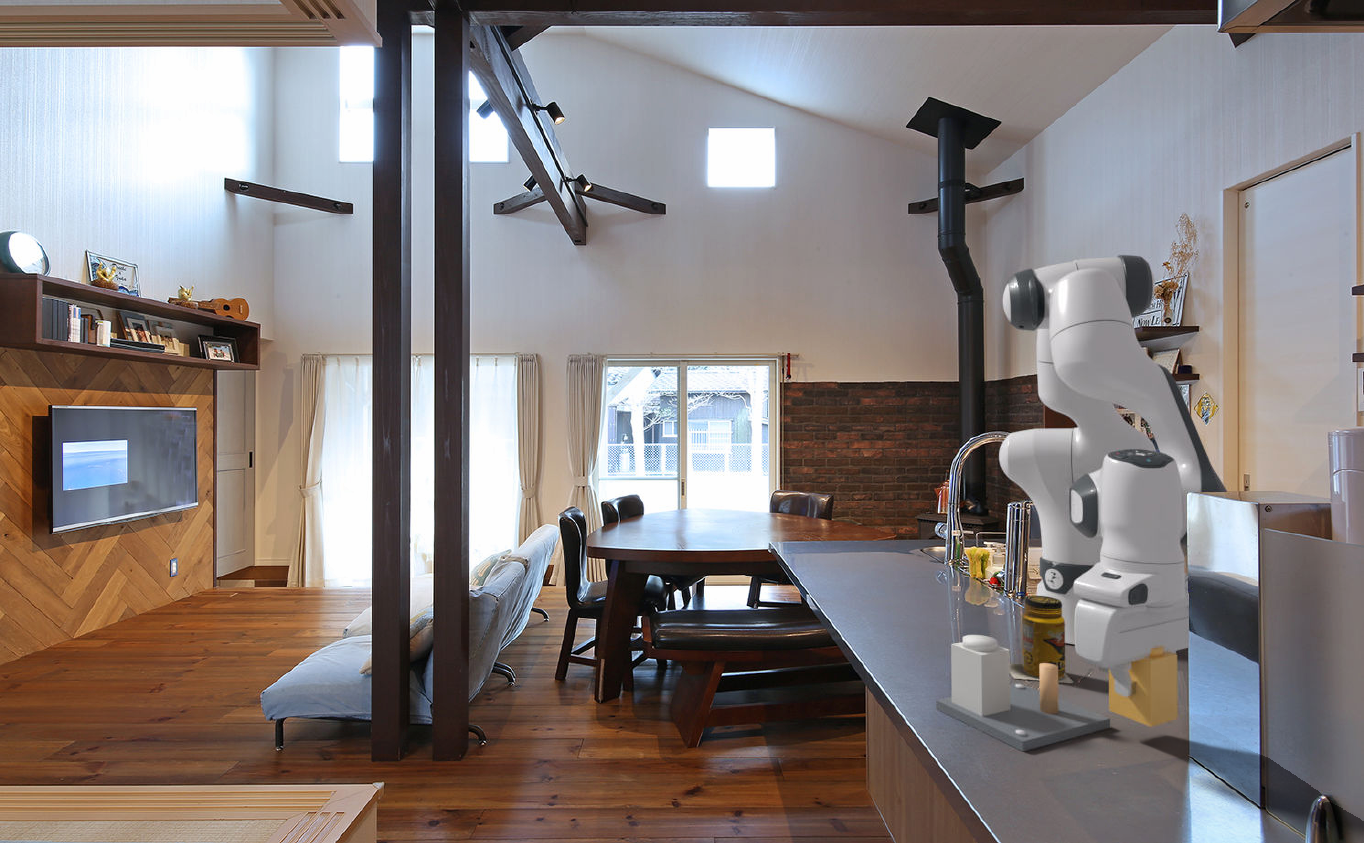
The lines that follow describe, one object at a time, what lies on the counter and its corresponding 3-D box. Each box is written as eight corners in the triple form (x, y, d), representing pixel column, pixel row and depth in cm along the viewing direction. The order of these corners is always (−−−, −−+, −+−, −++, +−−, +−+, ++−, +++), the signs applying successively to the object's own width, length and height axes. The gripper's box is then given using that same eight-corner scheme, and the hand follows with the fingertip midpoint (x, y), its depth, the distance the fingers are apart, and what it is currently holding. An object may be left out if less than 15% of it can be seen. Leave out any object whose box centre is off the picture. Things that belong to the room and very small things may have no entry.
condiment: (1074, 684, 105) (1073, 605, 106) (1014, 679, 107) (1013, 602, 107) (1059, 668, 113) (1058, 594, 113) (1003, 664, 114) (1002, 591, 115)
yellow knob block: (1135, 703, 90) (1134, 634, 90) (1177, 718, 85) (1176, 646, 85) (1109, 710, 88) (1108, 640, 88) (1151, 727, 83) (1150, 652, 83)
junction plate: (1018, 690, 103) (1017, 622, 103) (1110, 727, 90) (1109, 649, 90) (936, 708, 96) (935, 635, 96) (1022, 751, 83) (1021, 666, 83)
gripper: (1166, 566, 94) (1167, 667, 94) (1063, 583, 85) (1064, 695, 85) (1218, 575, 88) (1219, 683, 88) (1113, 595, 80) (1115, 714, 80)
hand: (1142, 689), depth 87 cm, fingers closed on yellow knob block, 5 cm apart
